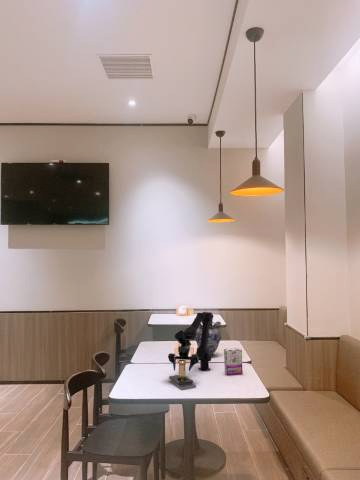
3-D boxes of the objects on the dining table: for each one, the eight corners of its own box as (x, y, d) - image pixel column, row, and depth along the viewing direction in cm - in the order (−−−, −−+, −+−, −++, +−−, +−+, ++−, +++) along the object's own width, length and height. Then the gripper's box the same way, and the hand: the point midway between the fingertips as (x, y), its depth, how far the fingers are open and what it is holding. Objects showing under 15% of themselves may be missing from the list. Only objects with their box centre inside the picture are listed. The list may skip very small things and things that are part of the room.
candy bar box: (240, 372, 241) (239, 347, 242) (242, 374, 236) (242, 349, 237) (224, 373, 239) (223, 348, 240) (226, 375, 234) (226, 350, 235)
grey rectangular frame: (169, 381, 225) (169, 376, 225) (182, 378, 229) (182, 374, 229) (181, 390, 208) (181, 385, 208) (196, 387, 212) (196, 382, 212)
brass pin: (177, 383, 220) (176, 360, 221) (184, 382, 222) (183, 359, 223) (180, 386, 215) (180, 362, 216) (187, 384, 217) (187, 361, 218)
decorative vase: (193, 358, 276) (193, 322, 279) (195, 353, 295) (195, 318, 297) (221, 359, 274) (220, 322, 276) (221, 354, 292) (221, 319, 294)
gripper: (168, 340, 226) (164, 363, 214) (197, 341, 222) (195, 364, 211) (171, 350, 233) (167, 372, 222) (199, 351, 229) (197, 374, 218)
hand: (181, 370), depth 218 cm, fingers open, 9 cm apart
